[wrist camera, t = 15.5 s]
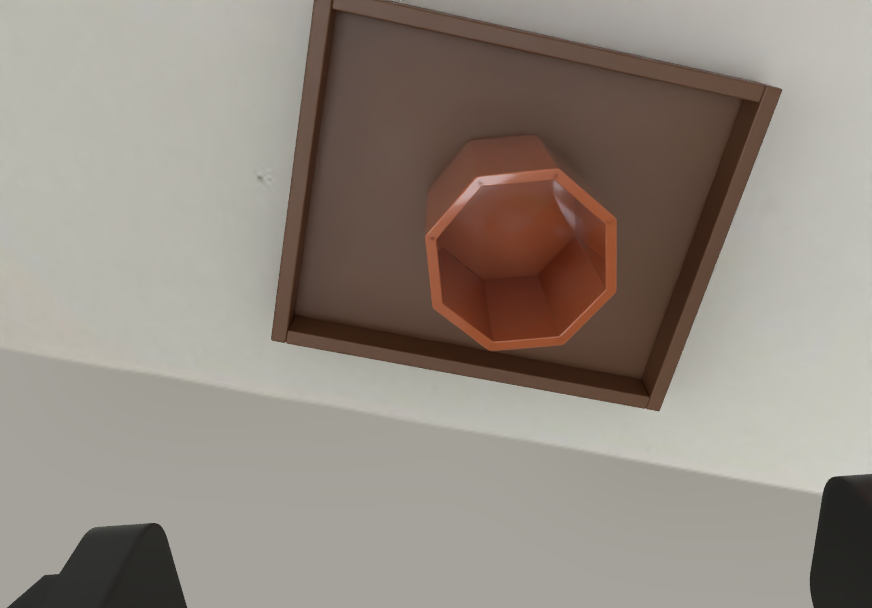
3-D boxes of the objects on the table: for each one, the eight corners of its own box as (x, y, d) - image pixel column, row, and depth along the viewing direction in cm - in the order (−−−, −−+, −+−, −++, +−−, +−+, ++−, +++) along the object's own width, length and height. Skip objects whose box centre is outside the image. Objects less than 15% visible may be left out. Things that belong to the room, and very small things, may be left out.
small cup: (437, 287, 29) (437, 355, 24) (422, 142, 27) (418, 181, 22) (583, 275, 29) (616, 341, 24) (580, 127, 27) (617, 162, 21)
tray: (280, 320, 31) (270, 340, 29) (324, -14, 25) (315, -15, 24) (646, 387, 32) (659, 411, 30) (759, 82, 27) (783, 89, 25)
